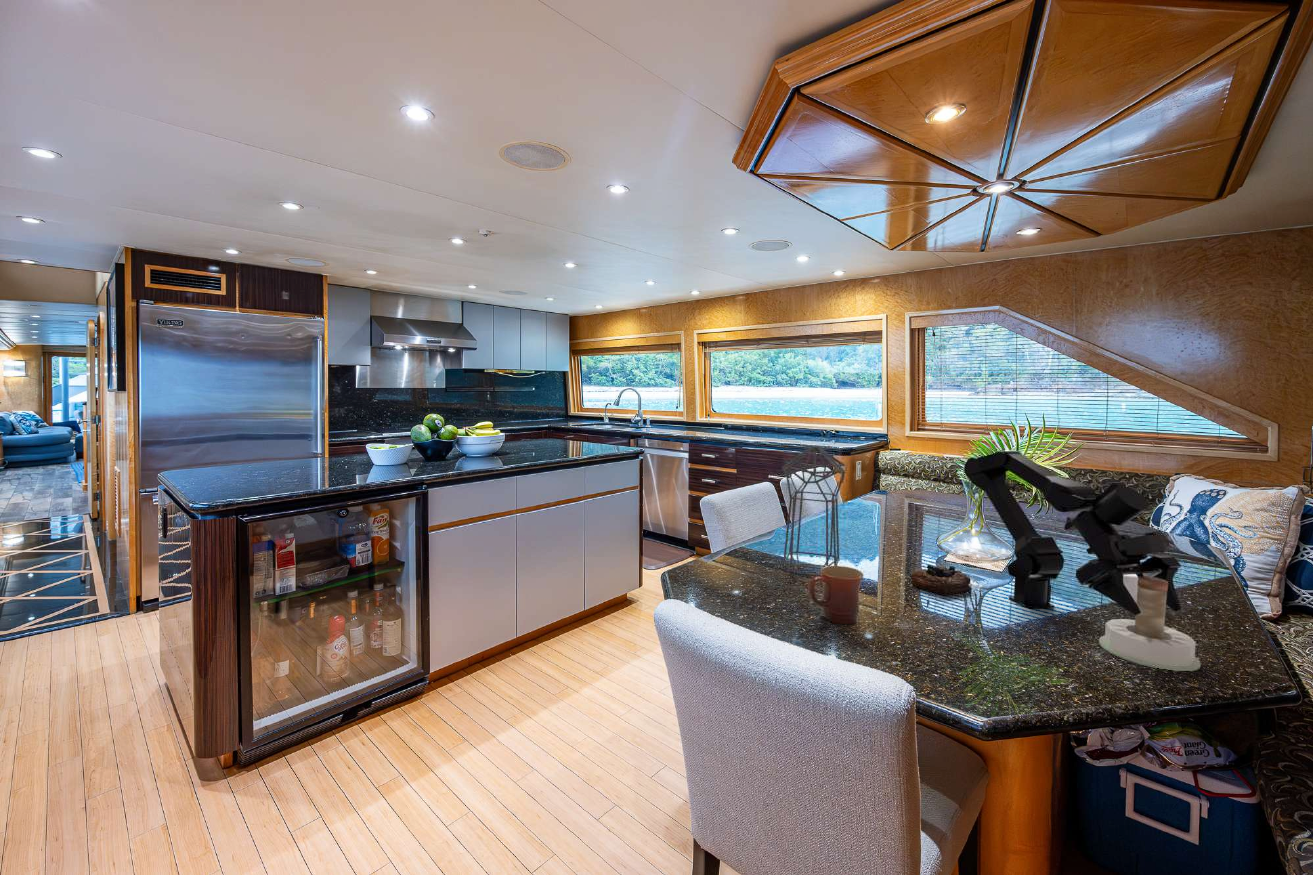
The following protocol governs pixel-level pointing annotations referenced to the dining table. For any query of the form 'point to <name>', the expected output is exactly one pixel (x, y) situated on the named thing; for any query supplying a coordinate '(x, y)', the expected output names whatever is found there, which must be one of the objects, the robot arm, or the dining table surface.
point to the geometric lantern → (813, 473)
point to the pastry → (941, 580)
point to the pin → (1151, 607)
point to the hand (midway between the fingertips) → (1158, 612)
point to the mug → (838, 593)
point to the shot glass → (1130, 585)
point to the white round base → (1150, 647)
